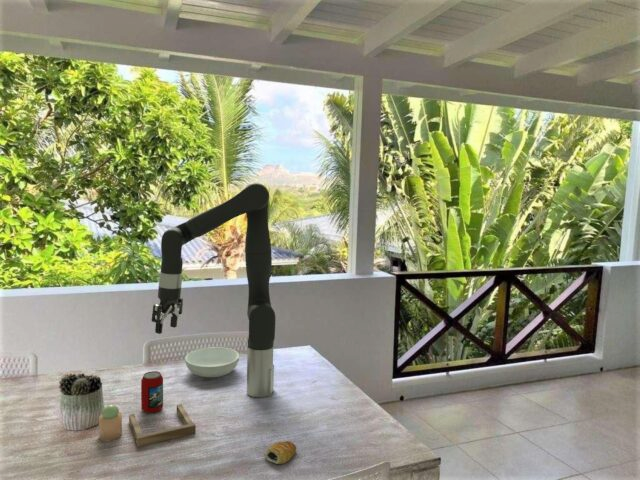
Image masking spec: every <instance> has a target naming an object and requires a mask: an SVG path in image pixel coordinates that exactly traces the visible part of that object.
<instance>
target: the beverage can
mask: <svg viewBox="0 0 640 480" xmlns="http://www.w3.org/2000/svg"><path fill="white" fill-rule="evenodd" d="M140 391H141V392H140V393H141V394H140V396H141V399H140V400H141V402H140V405H141V407H140V408H141V411H143V412H145V413H147V414H154V413H157V412H159V411H160V410H162V409H163V407H164V377H163V375H162V374H161V372H160V371H156V370H155V371H153V370H152V371H151V370H150V371H147V372H145V373H144V374H143V376H142V378H141V381H140Z"/></svg>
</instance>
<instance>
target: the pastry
mask: <svg viewBox="0 0 640 480" xmlns="http://www.w3.org/2000/svg"><path fill="white" fill-rule="evenodd" d="M296 451H297V446H296V444H295V443H294V442H292V441H290V440H289V441H288V440H287V441H286V440H285V441H279V442H274V443H273V444H271V445H269V446H268V447H267V449H266V451H265V452H264V453H263V454H264V456H263V457H264V458H265V460H267V461H268V462H270V463H274V464H276V465H284V464H286V463H287V462H289V461H290V460H291V459H292V458H293V456H295V454H296V453H297V452H296Z"/></svg>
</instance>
